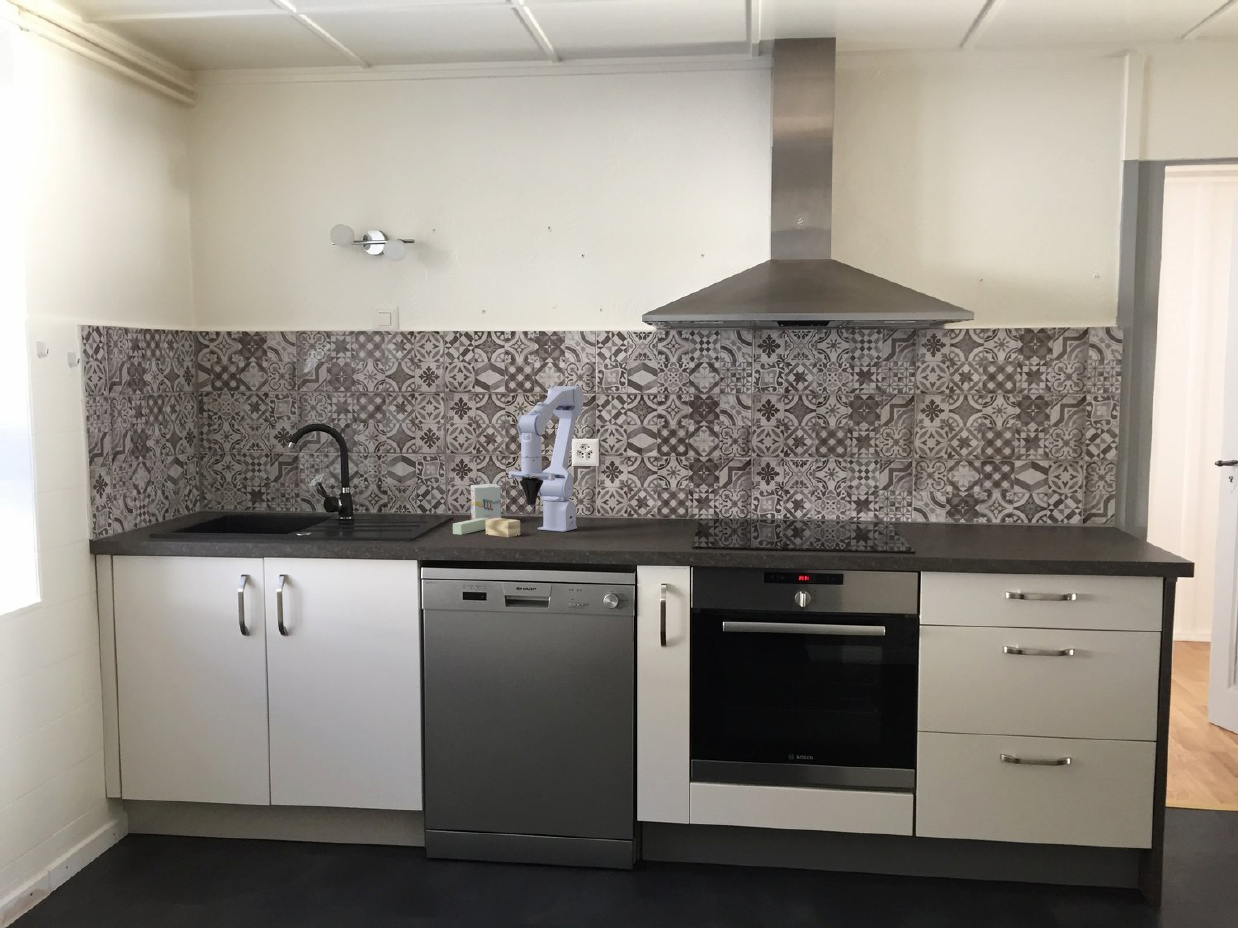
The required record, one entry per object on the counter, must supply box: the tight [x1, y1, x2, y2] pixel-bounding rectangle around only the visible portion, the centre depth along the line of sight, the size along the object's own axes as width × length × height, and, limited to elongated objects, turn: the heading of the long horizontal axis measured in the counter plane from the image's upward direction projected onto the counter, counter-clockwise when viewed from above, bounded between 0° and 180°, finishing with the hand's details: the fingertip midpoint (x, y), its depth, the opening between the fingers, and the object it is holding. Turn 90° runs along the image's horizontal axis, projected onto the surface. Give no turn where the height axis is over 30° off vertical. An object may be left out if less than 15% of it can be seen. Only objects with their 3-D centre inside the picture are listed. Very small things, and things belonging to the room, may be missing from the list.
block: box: [485, 517, 521, 538], centre depth 286 cm, size 9×5×4 cm, turn 53°
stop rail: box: [452, 518, 489, 536], centre depth 292 cm, size 3×14×3 cm, turn 152°
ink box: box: [470, 483, 502, 520], centre depth 310 cm, size 9×9×12 cm
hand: (531, 504), depth 281 cm, fingers closed
